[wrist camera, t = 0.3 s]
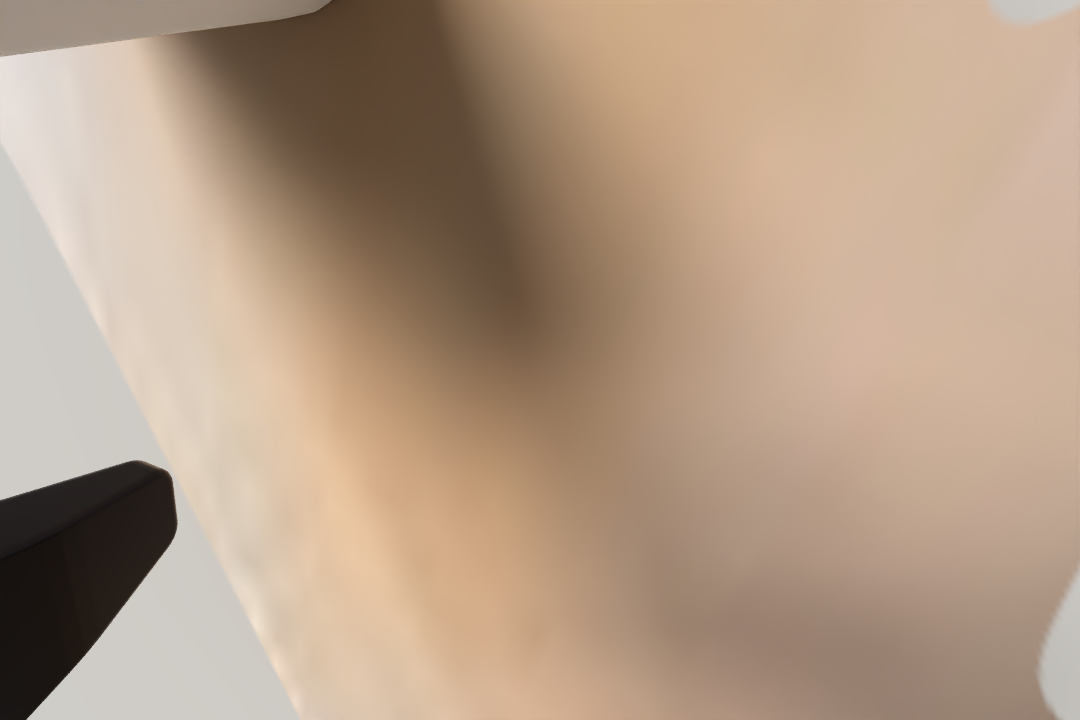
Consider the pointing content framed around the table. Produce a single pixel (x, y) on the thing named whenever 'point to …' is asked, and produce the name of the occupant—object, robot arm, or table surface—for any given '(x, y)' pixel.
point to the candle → (128, 19)
